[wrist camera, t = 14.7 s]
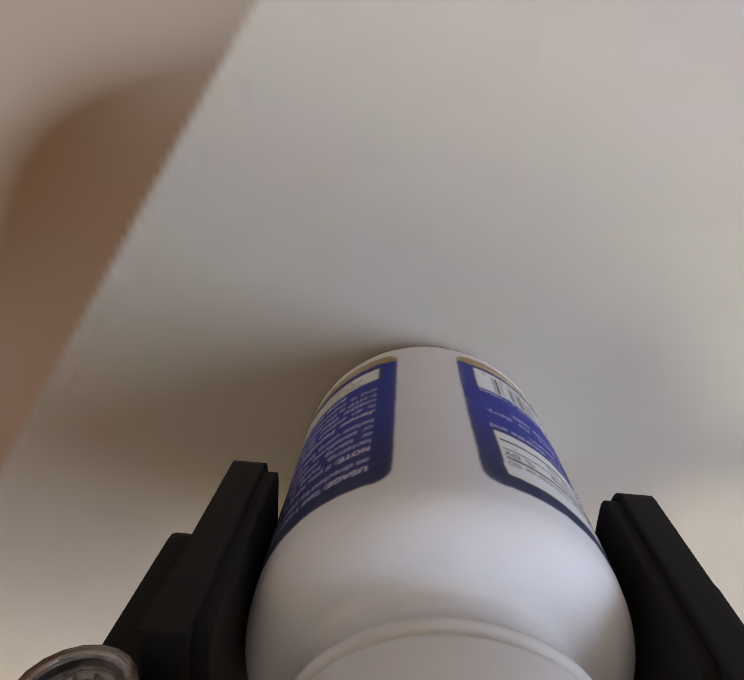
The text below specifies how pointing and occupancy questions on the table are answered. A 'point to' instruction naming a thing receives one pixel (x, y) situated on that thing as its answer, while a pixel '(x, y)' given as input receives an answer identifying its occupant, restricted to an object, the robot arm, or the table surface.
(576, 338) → the table surface
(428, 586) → the pill bottle
